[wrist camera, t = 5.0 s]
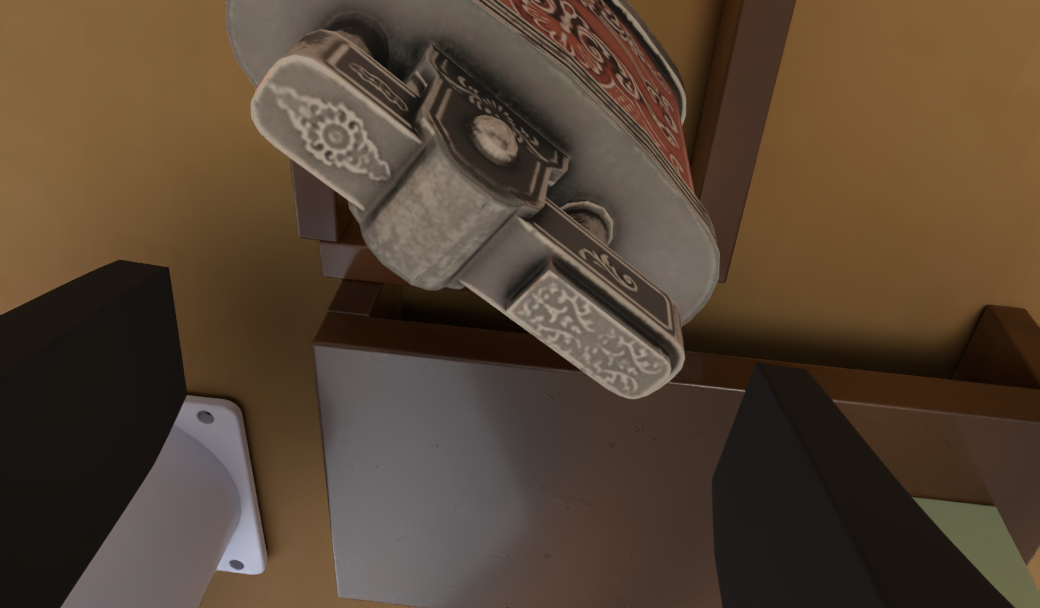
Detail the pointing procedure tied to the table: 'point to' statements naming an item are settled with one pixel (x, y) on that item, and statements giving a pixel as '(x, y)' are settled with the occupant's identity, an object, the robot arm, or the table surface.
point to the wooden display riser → (610, 416)
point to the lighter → (501, 159)
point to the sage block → (985, 547)
